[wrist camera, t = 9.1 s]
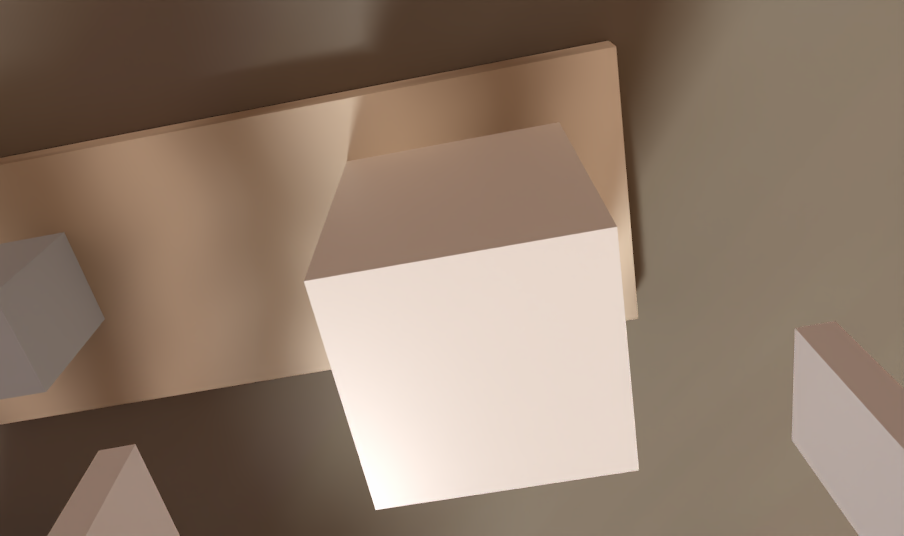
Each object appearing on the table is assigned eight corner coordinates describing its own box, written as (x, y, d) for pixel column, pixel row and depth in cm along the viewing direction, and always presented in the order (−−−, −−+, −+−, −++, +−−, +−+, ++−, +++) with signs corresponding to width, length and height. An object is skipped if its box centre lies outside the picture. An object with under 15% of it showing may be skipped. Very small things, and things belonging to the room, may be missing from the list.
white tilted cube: (393, 339, 24) (375, 509, 18) (346, 161, 22) (303, 281, 15) (581, 308, 24) (639, 469, 17) (559, 122, 21) (617, 226, 14)
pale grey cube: (13, 334, 24) (-61, 409, 21) (-33, 249, 23) (-121, 314, 19) (104, 318, 24) (46, 392, 20) (64, 232, 23) (-7, 293, 19)
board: (-17, 412, 27) (-33, 430, 26) (-152, 187, 23) (-176, 198, 22) (631, 303, 25) (638, 318, 24) (608, 40, 21) (616, 46, 20)
